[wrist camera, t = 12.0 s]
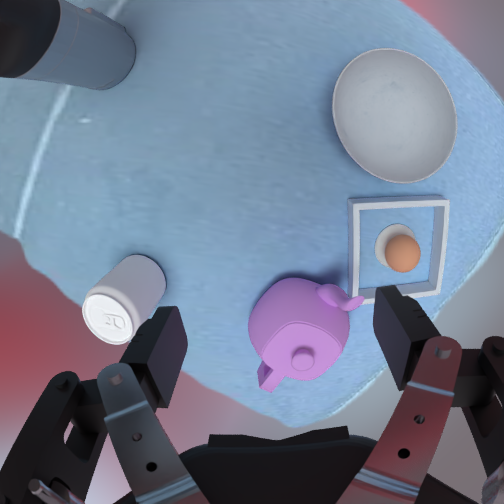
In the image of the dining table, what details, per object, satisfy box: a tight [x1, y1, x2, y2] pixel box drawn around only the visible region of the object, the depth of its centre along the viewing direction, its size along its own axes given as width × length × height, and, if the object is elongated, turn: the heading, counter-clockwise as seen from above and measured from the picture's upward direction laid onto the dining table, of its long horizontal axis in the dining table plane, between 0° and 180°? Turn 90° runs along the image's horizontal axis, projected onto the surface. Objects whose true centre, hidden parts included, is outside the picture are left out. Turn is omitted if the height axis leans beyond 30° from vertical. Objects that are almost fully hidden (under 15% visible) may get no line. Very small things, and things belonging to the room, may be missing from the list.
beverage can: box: [82, 255, 166, 344], centre depth 38 cm, size 8×8×12 cm
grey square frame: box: [347, 195, 450, 305], centre depth 38 cm, size 14×14×3 cm
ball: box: [385, 234, 420, 272], centre depth 37 cm, size 5×5×5 cm
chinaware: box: [332, 48, 457, 183], centre depth 30 cm, size 15×15×8 cm
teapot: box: [248, 278, 364, 393], centre depth 39 cm, size 13×20×11 cm, turn 148°
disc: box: [375, 224, 416, 268], centre depth 39 cm, size 6×6×1 cm
